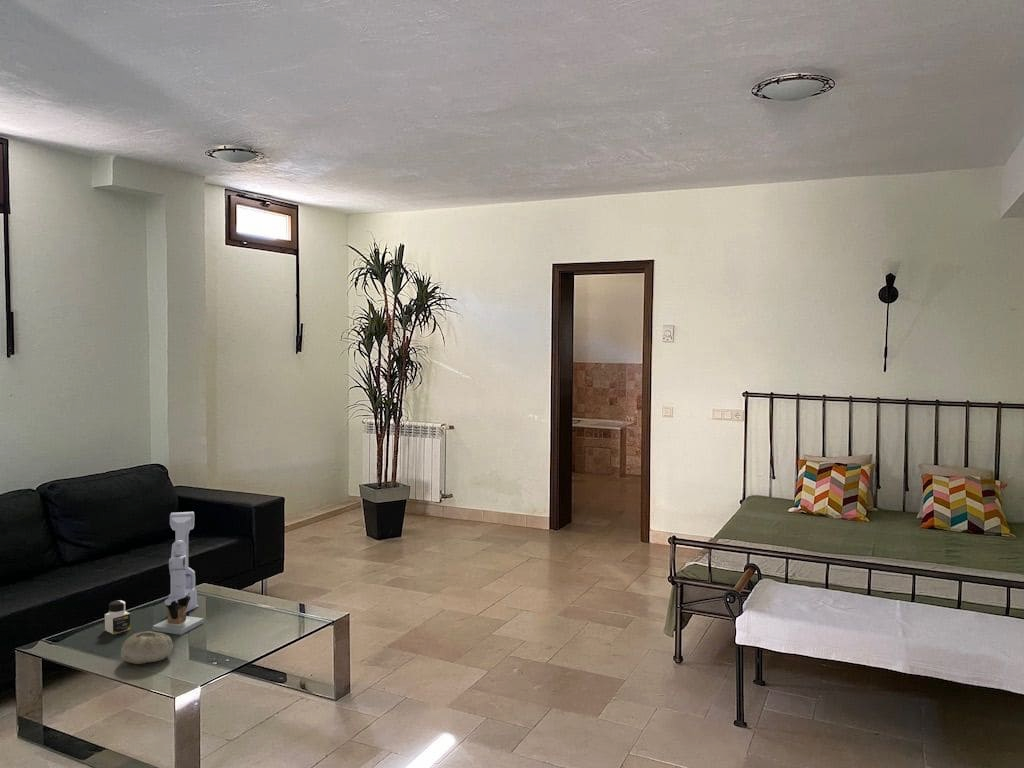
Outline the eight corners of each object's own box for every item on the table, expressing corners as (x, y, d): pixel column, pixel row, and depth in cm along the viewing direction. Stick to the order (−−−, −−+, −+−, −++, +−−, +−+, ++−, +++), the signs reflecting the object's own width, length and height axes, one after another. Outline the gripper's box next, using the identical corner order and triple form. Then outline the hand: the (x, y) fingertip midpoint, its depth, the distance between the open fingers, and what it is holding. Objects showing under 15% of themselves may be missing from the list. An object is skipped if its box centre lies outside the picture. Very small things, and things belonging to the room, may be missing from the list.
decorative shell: (168, 647, 310) (168, 622, 309) (177, 663, 295) (176, 637, 294) (118, 657, 300) (117, 631, 300) (124, 674, 285) (123, 647, 285)
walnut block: (175, 619, 335) (175, 605, 334) (186, 620, 334) (185, 606, 333) (167, 623, 330) (167, 609, 329) (178, 624, 329) (178, 610, 328)
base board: (175, 619, 340) (175, 614, 340) (203, 622, 337) (203, 618, 336) (152, 630, 327) (152, 625, 327) (181, 634, 323) (181, 629, 323)
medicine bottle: (113, 634, 322) (112, 606, 321) (104, 630, 326) (104, 602, 326) (130, 629, 328) (130, 601, 327) (121, 625, 332) (121, 597, 331)
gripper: (180, 578, 339) (180, 609, 339) (158, 589, 324) (158, 621, 325) (195, 580, 337) (195, 611, 338) (173, 590, 323) (173, 623, 324)
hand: (178, 616), depth 331 cm, fingers closed on walnut block, 5 cm apart
